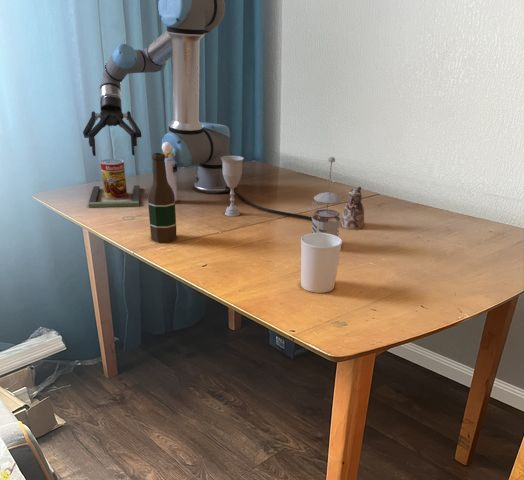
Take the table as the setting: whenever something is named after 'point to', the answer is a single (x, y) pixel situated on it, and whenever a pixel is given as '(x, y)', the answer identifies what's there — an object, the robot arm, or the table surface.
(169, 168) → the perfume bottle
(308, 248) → the white cup
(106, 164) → the canned food
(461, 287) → the table surface
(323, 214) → the french press
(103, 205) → the tray
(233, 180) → the chalice
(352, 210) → the figurine
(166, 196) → the beer bottle
